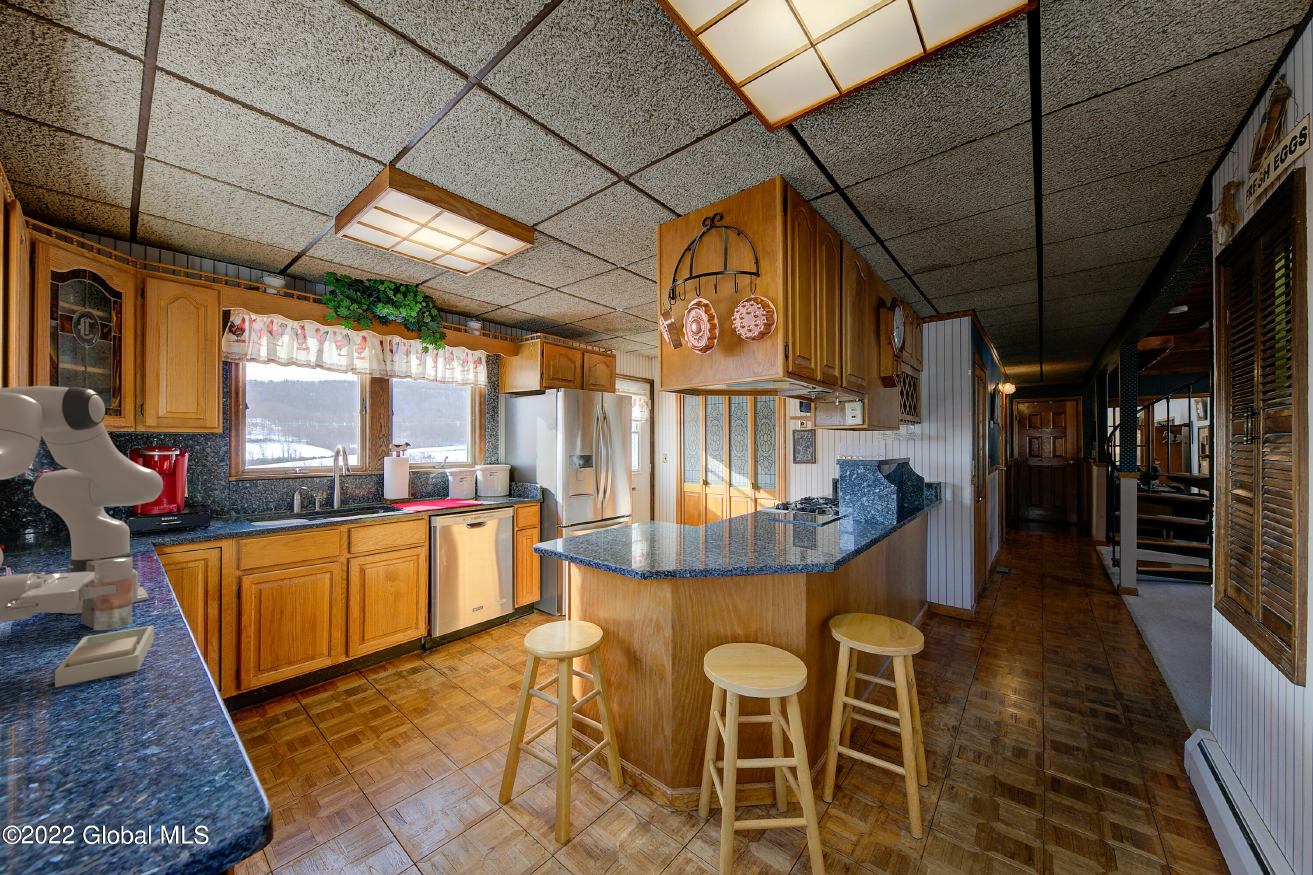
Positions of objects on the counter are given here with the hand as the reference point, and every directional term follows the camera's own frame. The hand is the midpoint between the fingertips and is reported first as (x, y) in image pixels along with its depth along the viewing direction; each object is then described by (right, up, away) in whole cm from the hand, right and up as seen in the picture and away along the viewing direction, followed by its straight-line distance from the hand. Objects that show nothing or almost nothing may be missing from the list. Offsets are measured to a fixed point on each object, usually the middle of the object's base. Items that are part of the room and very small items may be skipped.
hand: (119, 584), depth 108 cm
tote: (+2, -15, -4) cm, 16 cm away
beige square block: (+5, -14, -8) cm, 17 cm away
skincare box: (-26, -16, +21) cm, 37 cm away
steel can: (-1, -9, -1) cm, 9 cm away
